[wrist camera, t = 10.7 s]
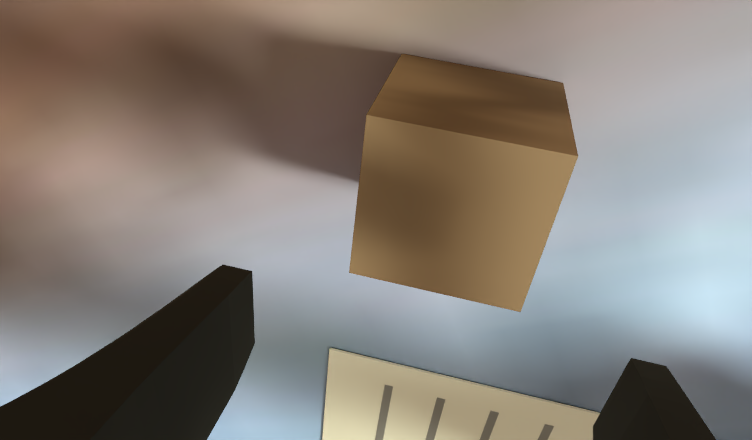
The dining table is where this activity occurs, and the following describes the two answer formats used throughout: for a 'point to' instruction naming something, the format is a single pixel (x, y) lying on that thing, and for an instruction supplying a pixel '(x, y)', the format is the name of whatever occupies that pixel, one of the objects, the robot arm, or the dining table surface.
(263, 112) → the dining table surface
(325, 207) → the dining table surface
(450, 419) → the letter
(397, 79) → the walnut block
